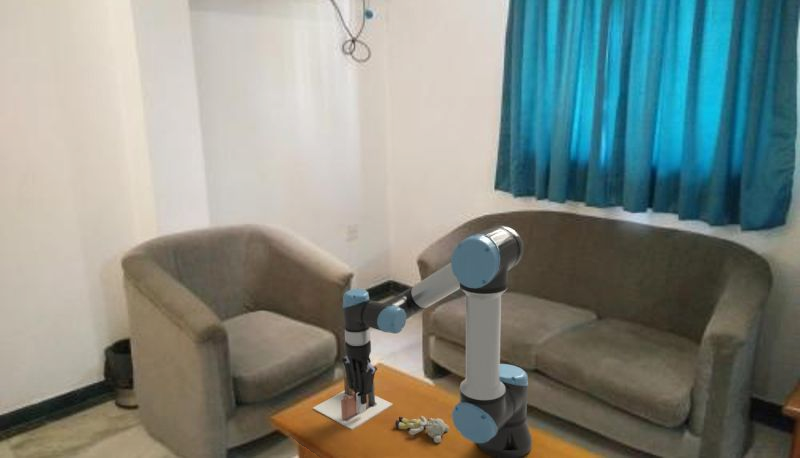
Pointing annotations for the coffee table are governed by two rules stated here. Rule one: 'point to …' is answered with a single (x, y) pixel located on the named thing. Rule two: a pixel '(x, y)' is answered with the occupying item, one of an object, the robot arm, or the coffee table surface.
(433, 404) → the coffee table surface
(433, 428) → the toy
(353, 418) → the card
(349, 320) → the robot arm
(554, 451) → the coffee table surface
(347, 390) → the fence fixed
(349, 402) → the fence panel
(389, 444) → the coffee table surface
